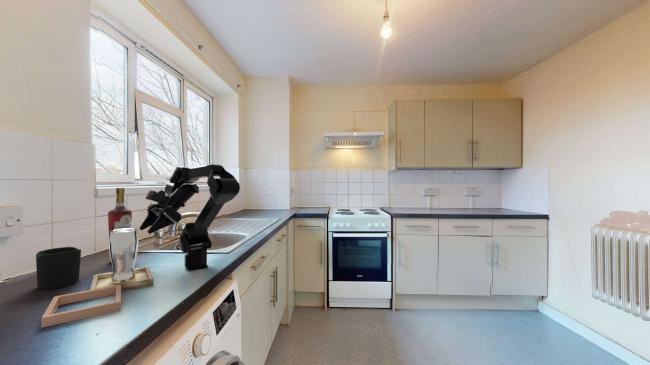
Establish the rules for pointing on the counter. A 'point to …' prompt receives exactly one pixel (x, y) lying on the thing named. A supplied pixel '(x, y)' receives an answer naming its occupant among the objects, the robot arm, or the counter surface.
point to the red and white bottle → (119, 214)
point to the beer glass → (123, 254)
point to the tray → (141, 280)
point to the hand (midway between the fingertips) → (144, 231)
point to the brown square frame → (67, 316)
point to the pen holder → (58, 267)
